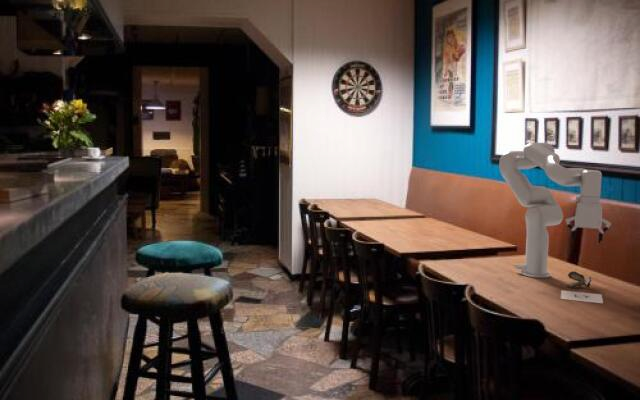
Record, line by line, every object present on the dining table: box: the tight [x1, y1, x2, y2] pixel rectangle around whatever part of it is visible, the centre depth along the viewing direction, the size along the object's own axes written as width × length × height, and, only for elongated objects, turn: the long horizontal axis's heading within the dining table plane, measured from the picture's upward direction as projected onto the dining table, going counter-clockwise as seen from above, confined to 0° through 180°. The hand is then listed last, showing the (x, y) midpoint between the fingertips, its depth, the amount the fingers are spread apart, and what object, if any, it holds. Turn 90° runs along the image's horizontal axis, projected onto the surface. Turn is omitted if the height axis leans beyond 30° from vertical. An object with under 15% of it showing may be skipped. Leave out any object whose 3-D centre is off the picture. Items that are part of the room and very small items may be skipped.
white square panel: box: [560, 289, 604, 304], centre depth 249 cm, size 15×14×1 cm
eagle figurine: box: [566, 271, 592, 290], centre depth 263 cm, size 8×7×9 cm
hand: (586, 241), depth 261 cm, fingers open, 9 cm apart
